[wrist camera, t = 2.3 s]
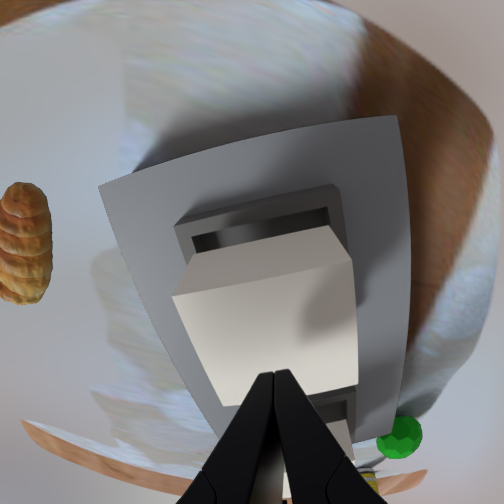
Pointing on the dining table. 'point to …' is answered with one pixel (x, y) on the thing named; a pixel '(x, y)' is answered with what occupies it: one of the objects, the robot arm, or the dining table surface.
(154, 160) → the dining table surface
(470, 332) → the dining table surface
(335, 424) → the button
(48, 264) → the pastry
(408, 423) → the polyhedron
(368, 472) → the supplement bottle
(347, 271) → the button
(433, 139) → the dining table surface
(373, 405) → the panel
